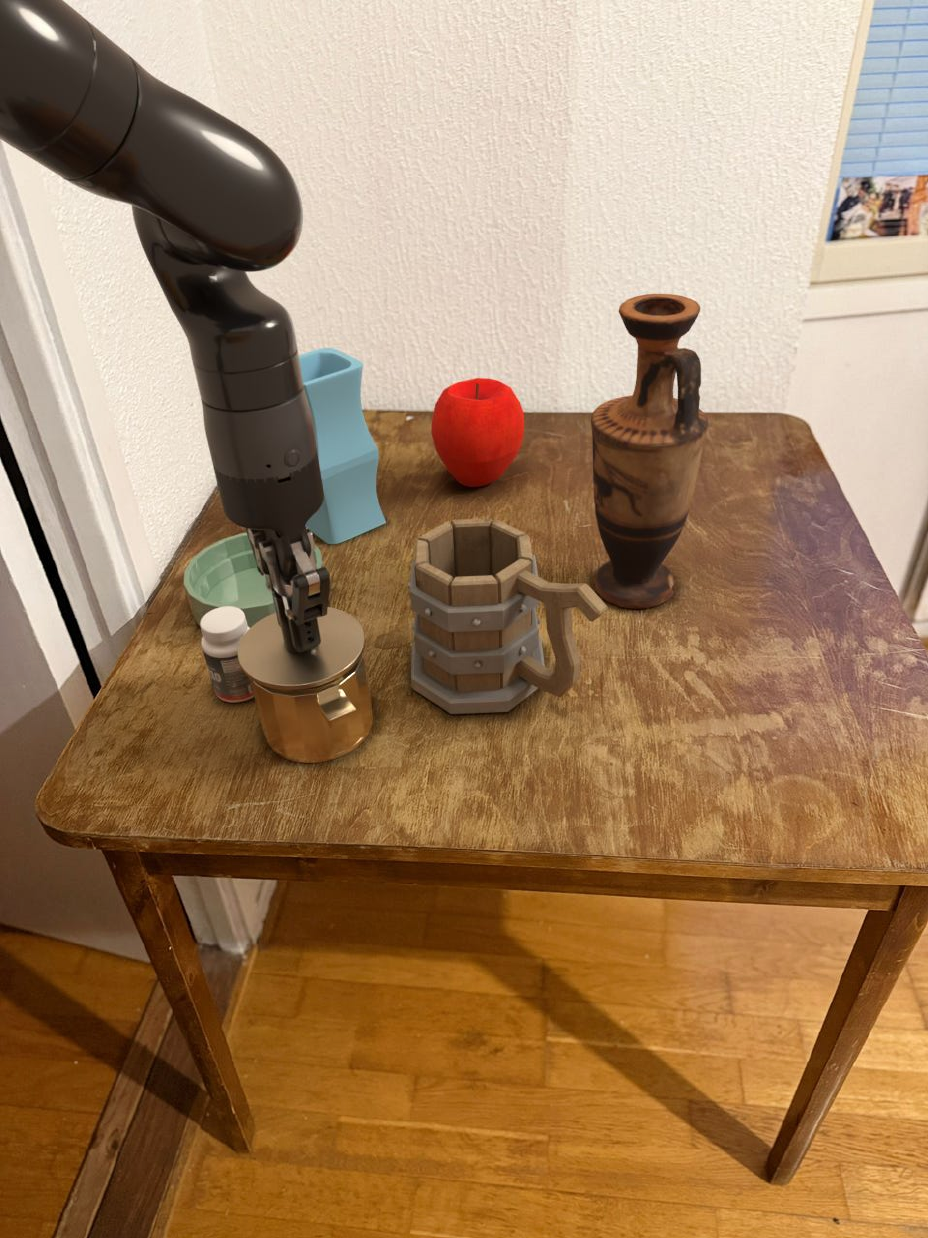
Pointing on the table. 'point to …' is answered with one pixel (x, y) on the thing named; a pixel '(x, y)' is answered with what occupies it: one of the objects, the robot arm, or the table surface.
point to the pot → (317, 717)
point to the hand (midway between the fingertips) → (300, 635)
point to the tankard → (489, 619)
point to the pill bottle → (225, 653)
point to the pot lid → (280, 664)
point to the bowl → (230, 580)
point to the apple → (477, 430)
